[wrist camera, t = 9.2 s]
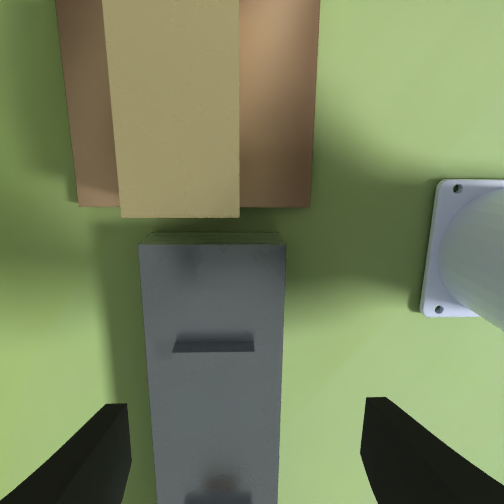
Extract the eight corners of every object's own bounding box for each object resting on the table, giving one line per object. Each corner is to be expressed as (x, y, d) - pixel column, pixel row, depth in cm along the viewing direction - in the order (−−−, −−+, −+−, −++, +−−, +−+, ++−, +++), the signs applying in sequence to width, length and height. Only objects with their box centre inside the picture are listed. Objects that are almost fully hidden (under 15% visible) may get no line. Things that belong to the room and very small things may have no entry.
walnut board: (318, -28, 17) (322, -37, 16) (306, 205, 19) (309, 207, 19) (58, -36, 16) (49, -46, 15) (85, 204, 19) (78, 206, 18)
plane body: (278, 232, 20) (300, 269, 13) (270, 532, 25) (282, 669, 18) (152, 232, 19) (107, 270, 13) (172, 536, 25) (147, 676, 18)
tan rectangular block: (238, 5, 16) (238, -61, 11) (239, 202, 18) (239, 217, 14) (139, 3, 16) (96, -65, 11) (152, 202, 18) (121, 217, 13)
